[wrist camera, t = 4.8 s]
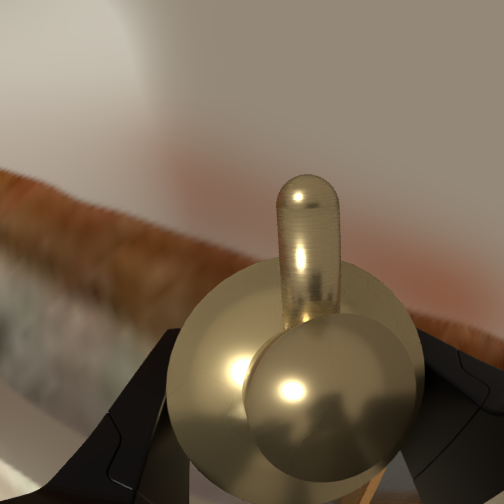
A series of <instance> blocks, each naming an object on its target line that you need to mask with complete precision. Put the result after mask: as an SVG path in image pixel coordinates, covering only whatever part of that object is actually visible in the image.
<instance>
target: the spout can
mask: <svg viewBox="0 0 504 504" xmlns="http://www.w3.org/2000/svg"><path fill="white" fill-rule="evenodd" d="M276 214H277V229H278V245H279V257H277V258H272V259H269V260H265V261H262V262H259V263H256V264H253V265H251V266H249V267H247V268H245V269H242V270H240V271H238V272H237V273H235V274H234V275H232V276H230V277H229V278H227V279H225V280H224V281H223V282H221V283H220V284H219V285H218V286H216V287H215V288H214V289H213V290H212V291H210V292H209V293H208V294H207V295H206V296H205V298H204V299H203V300H202V301H201V302H200V303H199V304H198V305H197V306H196V307H195V309H194V310H193V312H192V313H191V314H190V316H189V317H188V319H187V320H186V322H185V324H184V325H183V327H182V329H181V331H180V333H179V335H178V337H177V339H176V342H175V345H174V348H173V350H172V353H171V357H170V362H169V366H168V371H167V384H166V395H167V407H168V412H169V416H170V420H171V425H172V427H173V430H174V432H175V435H176V437H177V440H178V442H179V444H180V445H181V447H182V449H183V451H184V452H185V454H186V456H187V457H188V458H189V460H190V461H191V462H192V463H193V464H194V466H195V467H196V468H197V469H198V470H199V471H200V472H201V473H202V474H203V475H204V476H205V477H206V478H207V479H208V480H210V481H211V482H212V483H214V484H215V485H217V486H218V487H219V488H221V489H222V490H224V491H226V492H228V493H230V494H232V495H234V496H236V497H238V498H240V499H243V500H246V501H249V502H252V503H255V504H322V503H326V502H329V501H332V500H335V499H338V498H340V497H342V496H345V495H347V494H349V493H351V492H353V491H355V490H356V489H358V488H360V487H361V486H363V485H364V484H366V483H368V482H369V481H370V480H371V479H373V478H374V477H375V476H376V475H378V474H379V473H380V472H381V471H382V470H383V469H384V468H385V467H386V466H387V465H388V464H389V463H390V462H391V461H392V460H393V459H394V457H395V456H396V455H397V453H398V452H399V451H400V450H401V448H402V447H403V445H404V443H405V442H406V440H407V438H408V437H409V435H410V433H411V431H412V429H413V427H414V424H415V422H416V420H417V417H418V414H419V410H420V407H421V403H422V398H423V392H424V382H425V366H424V356H423V351H422V346H421V342H420V339H419V336H418V333H417V330H416V327H415V325H414V323H413V321H412V319H411V317H410V315H409V314H408V312H407V310H406V309H405V307H404V306H403V304H402V303H401V302H400V300H399V299H398V298H397V297H396V296H395V295H394V293H393V292H392V291H391V290H390V289H389V288H388V287H387V286H385V285H384V284H383V283H382V282H381V281H380V280H378V279H377V278H375V277H374V276H372V275H371V274H370V273H368V272H366V271H365V270H363V269H361V268H359V267H357V266H355V265H353V264H349V263H347V262H344V261H341V239H340V238H341V237H340V208H339V199H338V196H337V193H336V191H335V190H334V188H333V187H332V186H331V185H330V183H329V182H327V181H326V180H324V179H323V178H321V177H319V176H315V175H307V174H305V175H299V176H297V177H294V178H292V179H290V180H289V181H287V182H286V183H285V184H284V185H283V187H282V188H281V189H280V192H279V194H278V196H277V201H276Z"/></svg>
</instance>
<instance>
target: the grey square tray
mask: <svg viewBox="0 0 504 504" xmlns="http://www.w3.org/2000/svg"><path fill="white" fill-rule="evenodd" d="M413 480H414V479H412V477H411V474H410V472H409V470H408V467H407V465H406V463H405V460H404V458H403V456H402V453H401V451H399V452H398V453H397V455H396V456H395V457H394V459H393V460H392V461H391V462H390V463H389V464H388V465H387V466H386V467H385V468H384V469H383V470H382V471H381V472H380V473H379V474H378V475H376V476H375V477H374V478H373V479H371V480H370V481H369V482H368V483H366V484H364V485H363V486H361V487H360V488H358V489H356V490H355V491H353V492H351V493H349V494H347V495H345V496H342V497H340V498H338V499H335V500H332V501H329V502H326V503H322V504H422V502H421V500H420V497H419V495H418V492H417V490H416V487H415V485H414V482H413Z"/></svg>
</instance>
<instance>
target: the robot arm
mask: <svg viewBox="0 0 504 504" xmlns="http://www.w3.org/2000/svg"><path fill="white" fill-rule="evenodd" d="M416 330H417V333H418V336H419V339H420V342H421V346H422V351H423V356H424V366H425V382H424V392H423V398H422V403H421V407H420V410H419V414H418V417H417V420H416V422H415V424H414V427H413V429H412V431H411V433H410V435H409V437H408V438H407V440H406V442H405V443H404V445H403V447H402V448H401V450H400V451H401V453H402V456H403V458H404V460H405V463H406V465H407V467H408V470H409V472H410V474H411V477H412V479H414V480H413V482H414V485H415V487H416V490H417V492H418V495H419V497H420V500H421V502H422V504H504V371H503V370H501V369H498V368H496V367H494V366H491V365H489V364H487V363H484V362H482V361H480V360H478V359H476V358H474V357H472V356H470V355H468V354H466V353H464V352H462V351H460V350H457V349H456V348H454V347H452V346H450V345H449V344H447V343H445V342H443V341H441V340H439V339H437V338H435V337H433V336H431V335H429V334H427V333H425V332H423V331H422V330H420V329H418V328H416ZM180 331H181V328H175V329H168V330H167V331H166V332H165V333H164V335H163V336H162V338H161V339H160V340H159V342H158V343H157V344H156V346H155V347H154V348H153V350H152V351H151V352H150V354H149V355H148V357H147V358H146V359H145V361H144V362H143V363H142V365H141V366H140V368H139V369H138V370H137V372H136V373H135V374H134V376H133V377H132V379H131V380H130V381H129V383H128V384H127V385H126V387H125V388H124V390H123V391H122V392H121V394H120V395H119V397H118V398H117V399H116V401H115V402H114V404H113V405H112V406H111V408H110V409H109V411H108V413H106V415H105V416H104V417H103V419H102V420H101V422H100V423H99V424H98V426H97V427H96V428H95V430H94V431H93V432H92V434H91V435H90V436H89V438H88V439H87V440H86V441H85V442H84V444H83V445H82V446H81V447H80V448H79V449H78V450H77V452H76V453H75V454H74V455H73V456H72V457H71V458H70V459H69V460H68V461H67V463H66V464H65V465H64V466H63V467H62V468H61V469H60V470H59V472H58V473H57V474H56V475H55V476H54V477H53V478H52V479H51V480H50V481H49V482H48V483H47V484H46V485H44V486H43V487H42V488H40V489H38V490H36V491H34V492H32V493H29V494H25V495H22V496H18V497H15V498H11V499H7V500H3V501H0V504H189V465H190V460H189V458H188V457H187V456H186V454H185V452H184V451H183V449H182V447H181V445H180V444H179V442H178V440H177V437H176V435H175V432H174V430H173V427H172V425H171V420H170V416H169V412H168V407H167V395H166V384H167V371H168V366H169V362H170V357H171V353H172V350H173V348H174V345H175V342H176V339H177V337H178V335H179V333H180Z"/></svg>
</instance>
